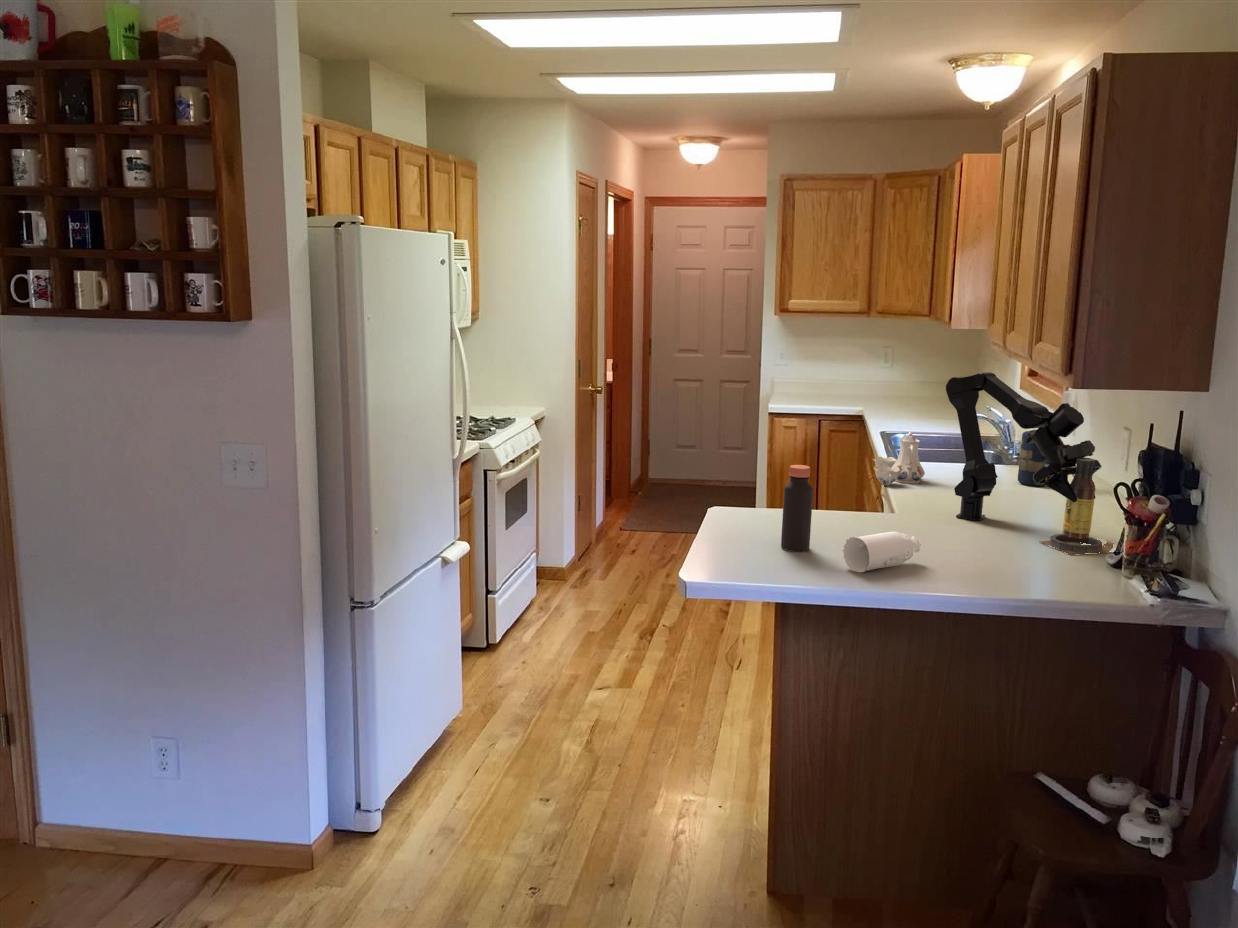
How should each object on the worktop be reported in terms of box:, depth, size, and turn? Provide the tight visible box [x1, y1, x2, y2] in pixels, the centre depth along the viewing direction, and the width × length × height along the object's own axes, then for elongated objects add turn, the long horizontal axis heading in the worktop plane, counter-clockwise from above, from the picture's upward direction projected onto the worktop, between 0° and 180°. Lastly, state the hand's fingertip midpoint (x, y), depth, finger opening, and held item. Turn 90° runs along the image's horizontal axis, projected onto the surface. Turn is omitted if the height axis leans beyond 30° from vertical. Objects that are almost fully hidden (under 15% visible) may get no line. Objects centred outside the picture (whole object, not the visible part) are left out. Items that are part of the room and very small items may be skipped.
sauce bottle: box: [1062, 457, 1096, 539], centre depth 257 cm, size 6×6×20 cm
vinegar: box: [780, 464, 814, 552], centre depth 250 cm, size 7×7×20 cm
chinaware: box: [872, 431, 925, 487], centre depth 337 cm, size 28×17×17 cm, turn 172°
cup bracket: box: [1039, 533, 1114, 555], centre depth 260 cm, size 18×12×2 cm, turn 105°
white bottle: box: [842, 531, 921, 573], centre depth 238 cm, size 8×19×8 cm, turn 121°
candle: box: [1017, 429, 1048, 487], centre depth 335 cm, size 10×10×18 cm
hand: (1084, 500), depth 256 cm, fingers closed on sauce bottle, 6 cm apart
